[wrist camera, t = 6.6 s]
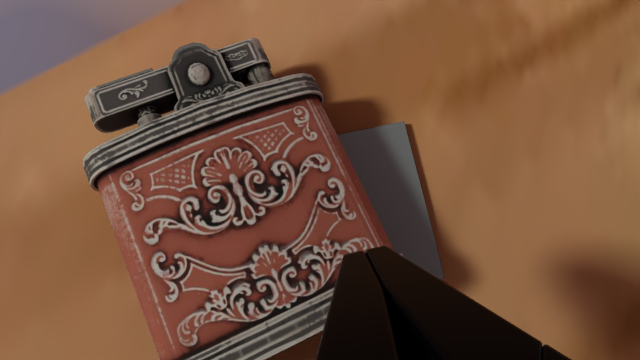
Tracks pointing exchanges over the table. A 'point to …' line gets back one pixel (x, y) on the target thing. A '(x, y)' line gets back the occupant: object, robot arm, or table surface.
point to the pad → (394, 191)
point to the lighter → (227, 201)
